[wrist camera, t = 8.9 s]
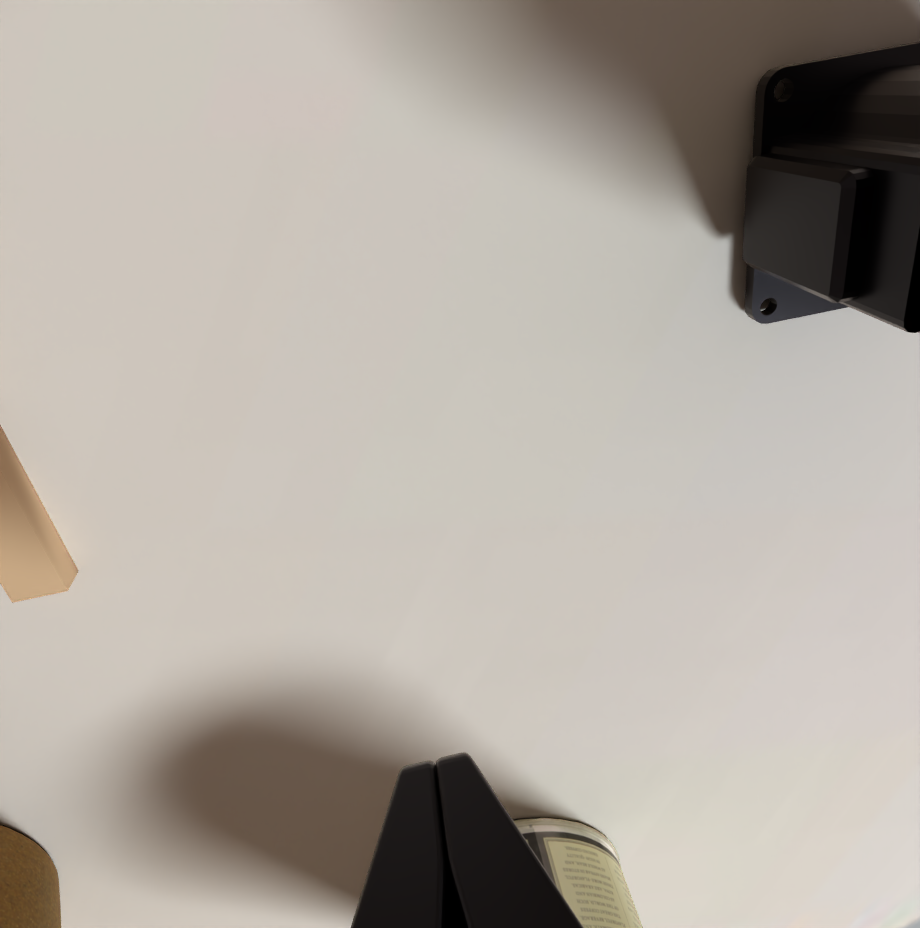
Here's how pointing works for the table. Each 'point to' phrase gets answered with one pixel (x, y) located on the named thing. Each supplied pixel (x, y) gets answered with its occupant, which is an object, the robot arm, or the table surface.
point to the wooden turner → (28, 536)
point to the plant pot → (27, 884)
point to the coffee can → (583, 871)
